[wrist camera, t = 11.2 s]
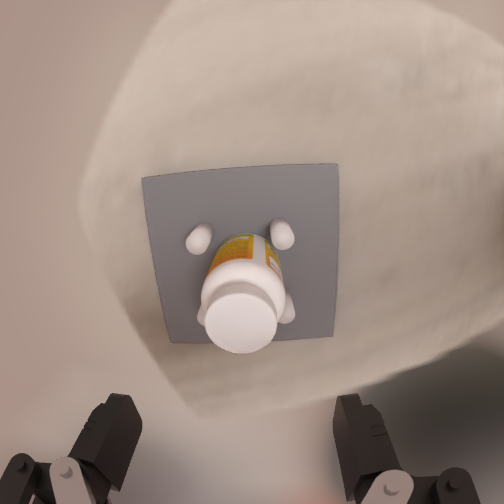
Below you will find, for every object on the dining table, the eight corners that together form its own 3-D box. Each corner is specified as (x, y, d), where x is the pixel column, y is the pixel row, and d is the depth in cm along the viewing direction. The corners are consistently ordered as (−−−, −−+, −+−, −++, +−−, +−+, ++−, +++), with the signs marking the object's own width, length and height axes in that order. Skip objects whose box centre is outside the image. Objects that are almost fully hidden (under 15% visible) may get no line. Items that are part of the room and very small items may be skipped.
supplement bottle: (205, 277, 25) (179, 344, 16) (229, 221, 24) (210, 265, 14) (263, 300, 26) (264, 374, 17) (289, 247, 24) (307, 303, 15)
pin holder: (334, 163, 23) (351, 166, 19) (330, 329, 28) (341, 358, 24) (146, 177, 24) (123, 182, 19) (173, 336, 29) (161, 364, 24)
